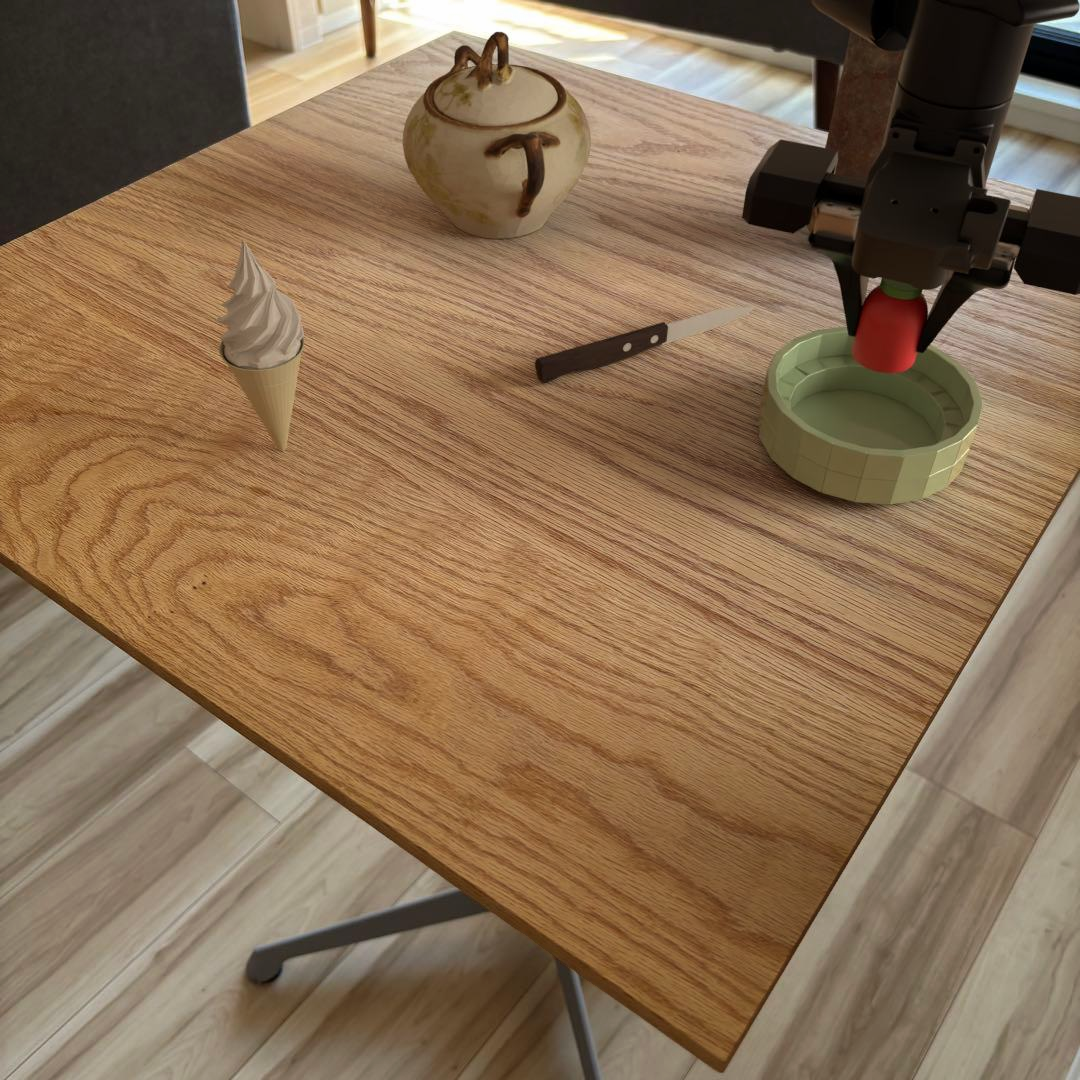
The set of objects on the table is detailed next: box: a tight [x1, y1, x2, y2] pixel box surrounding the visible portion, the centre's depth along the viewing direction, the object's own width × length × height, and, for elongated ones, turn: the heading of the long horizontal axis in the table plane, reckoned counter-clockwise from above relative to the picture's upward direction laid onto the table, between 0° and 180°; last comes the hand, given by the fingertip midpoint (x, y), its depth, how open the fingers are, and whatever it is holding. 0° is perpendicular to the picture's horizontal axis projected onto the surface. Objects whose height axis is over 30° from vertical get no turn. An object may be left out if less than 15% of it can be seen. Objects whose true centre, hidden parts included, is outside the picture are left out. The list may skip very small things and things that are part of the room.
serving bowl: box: [757, 326, 984, 506], centre depth 73 cm, size 13×13×4 cm
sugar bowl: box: [402, 31, 592, 240], centre depth 90 cm, size 20×15×15 cm
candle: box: [806, 30, 904, 234], centre depth 85 cm, size 8×7×20 cm
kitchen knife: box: [534, 306, 755, 384], centre depth 81 cm, size 18×1×2 cm, turn 117°
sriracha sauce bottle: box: [852, 278, 929, 373], centre depth 67 cm, size 4×4×5 cm
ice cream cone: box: [215, 240, 306, 452], centre depth 68 cm, size 5×5×15 cm
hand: (886, 341), depth 69 cm, fingers closed on sriracha sauce bottle, 4 cm apart
